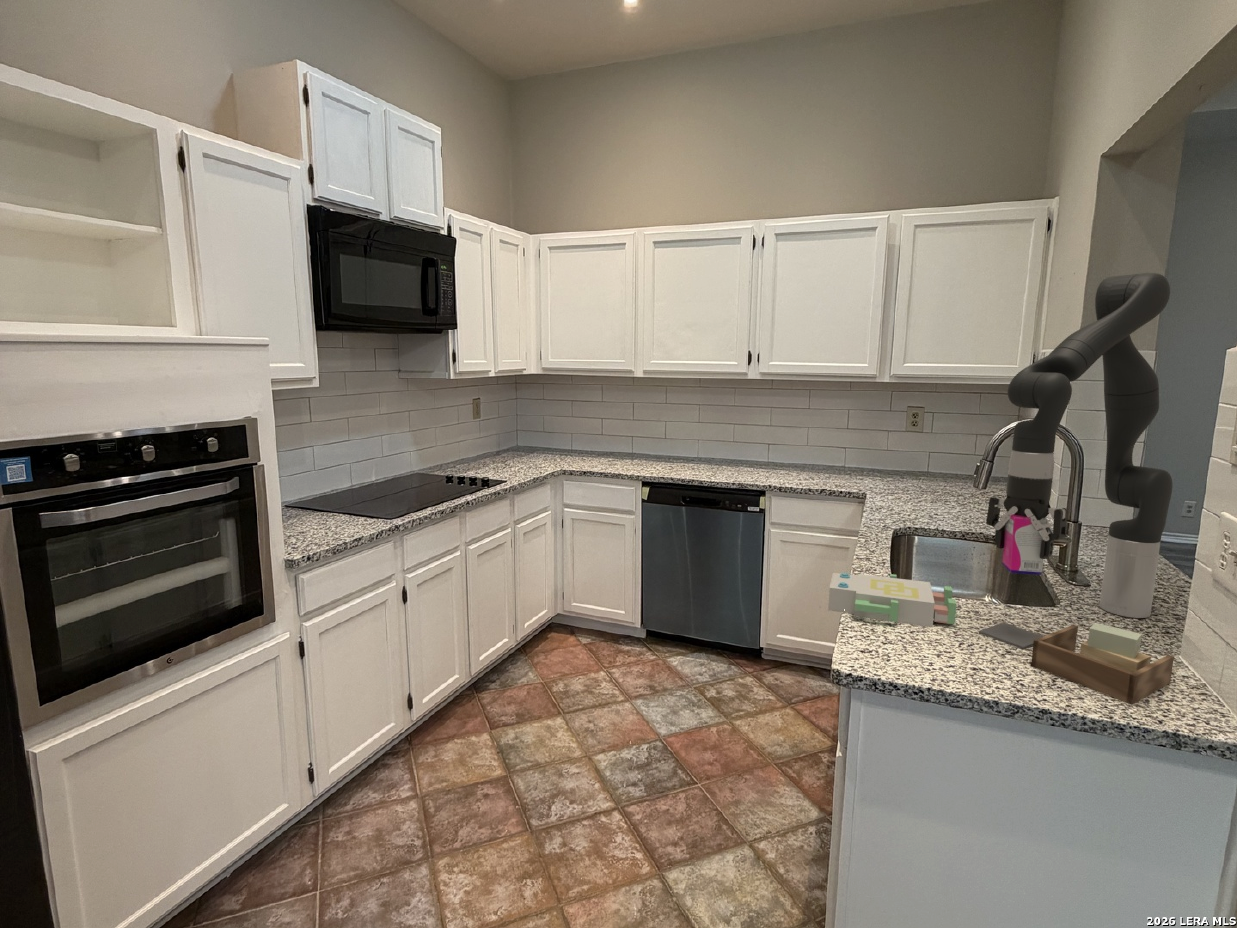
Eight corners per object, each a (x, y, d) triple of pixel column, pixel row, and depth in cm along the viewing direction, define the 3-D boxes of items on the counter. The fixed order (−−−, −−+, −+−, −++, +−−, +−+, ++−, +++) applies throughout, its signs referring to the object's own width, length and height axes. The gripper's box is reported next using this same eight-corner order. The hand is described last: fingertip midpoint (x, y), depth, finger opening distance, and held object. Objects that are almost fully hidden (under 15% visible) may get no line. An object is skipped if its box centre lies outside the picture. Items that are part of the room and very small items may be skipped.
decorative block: (828, 590, 143) (834, 564, 161) (826, 618, 144) (832, 589, 162) (958, 607, 133) (949, 577, 152) (956, 636, 134) (947, 604, 153)
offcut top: (1093, 639, 124) (1095, 622, 123) (1139, 652, 118) (1141, 633, 118) (1087, 645, 121) (1089, 628, 120) (1134, 658, 116) (1136, 640, 115)
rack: (1070, 648, 128) (1073, 624, 128) (1170, 682, 115) (1174, 656, 114) (1030, 665, 121) (1033, 640, 120) (1132, 704, 107) (1135, 676, 107)
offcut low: (1092, 657, 125) (1095, 637, 125) (1148, 677, 117) (1151, 656, 117) (1078, 663, 123) (1081, 643, 122) (1134, 683, 115) (1137, 662, 114)
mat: (1003, 624, 140) (1003, 622, 140) (1047, 639, 132) (1047, 637, 132) (978, 633, 136) (979, 630, 135) (1023, 649, 128) (1023, 647, 128)
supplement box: (1032, 566, 134) (1038, 512, 132) (1042, 575, 128) (1048, 519, 126) (1001, 564, 135) (1006, 510, 134) (1009, 572, 130) (1014, 517, 128)
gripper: (1079, 477, 124) (1070, 559, 127) (1004, 467, 137) (997, 541, 139) (1059, 481, 121) (1049, 565, 123) (983, 470, 133) (976, 546, 135)
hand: (1021, 552), depth 131 cm, fingers closed on supplement box, 8 cm apart
